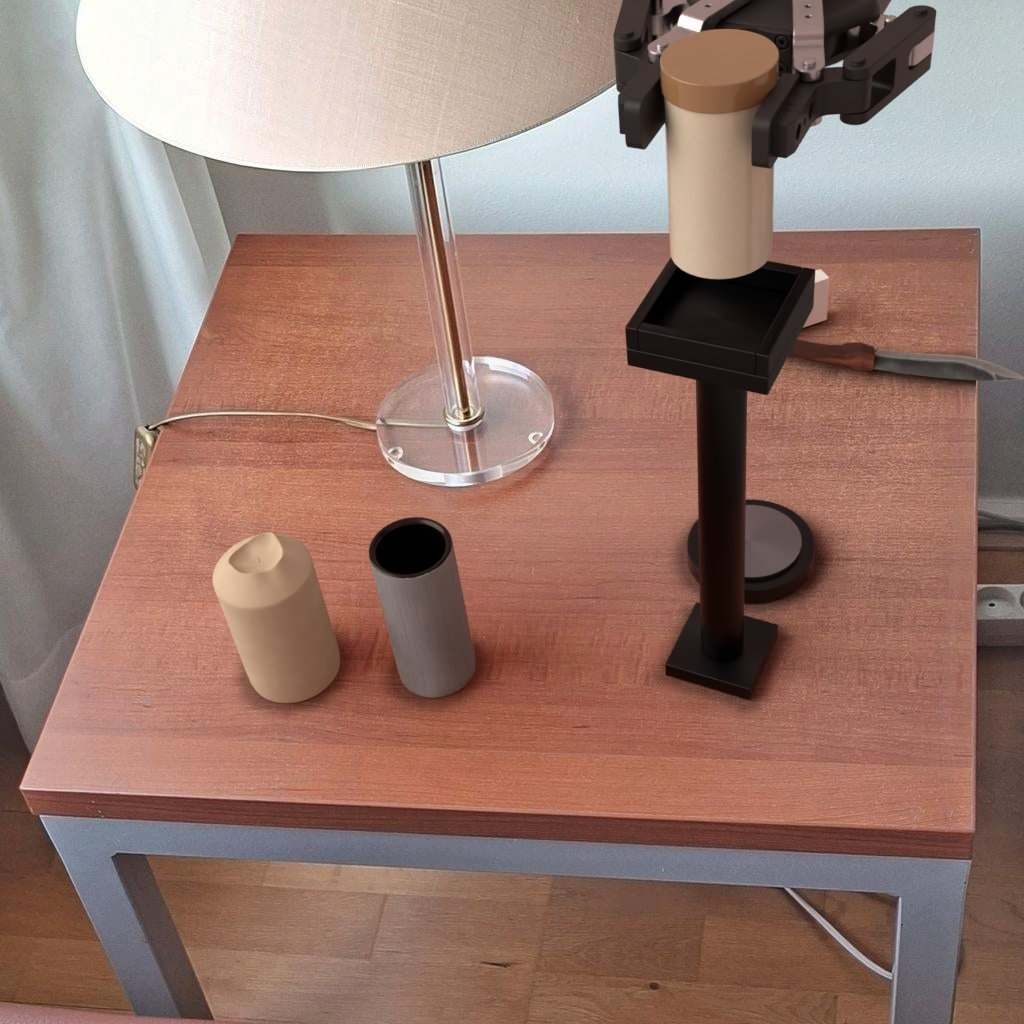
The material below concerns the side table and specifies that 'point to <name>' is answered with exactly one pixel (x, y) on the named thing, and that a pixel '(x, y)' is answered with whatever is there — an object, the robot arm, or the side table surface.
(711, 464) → the stand
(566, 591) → the side table surface
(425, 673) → the planter
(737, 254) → the spice jar
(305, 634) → the candle
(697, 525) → the plate
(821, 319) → the eraser
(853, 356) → the knife
